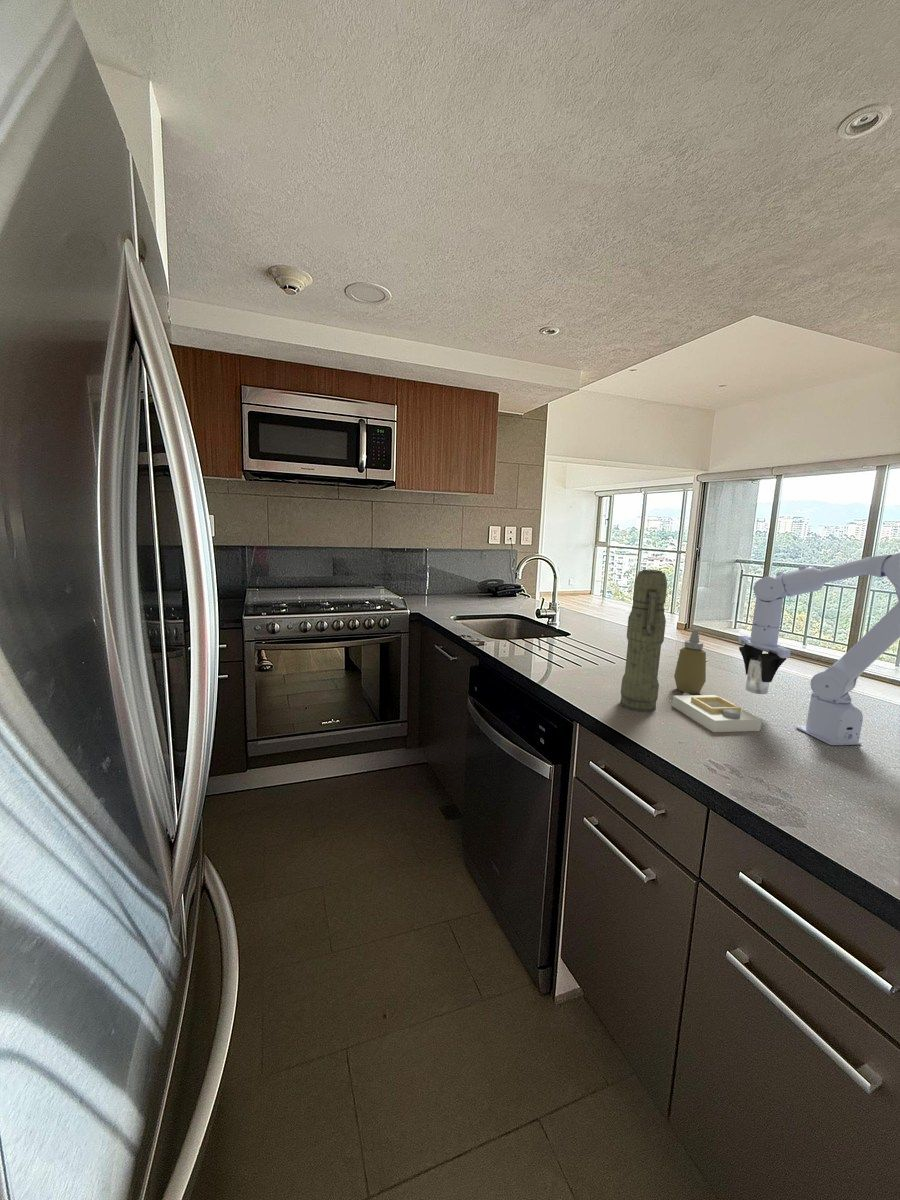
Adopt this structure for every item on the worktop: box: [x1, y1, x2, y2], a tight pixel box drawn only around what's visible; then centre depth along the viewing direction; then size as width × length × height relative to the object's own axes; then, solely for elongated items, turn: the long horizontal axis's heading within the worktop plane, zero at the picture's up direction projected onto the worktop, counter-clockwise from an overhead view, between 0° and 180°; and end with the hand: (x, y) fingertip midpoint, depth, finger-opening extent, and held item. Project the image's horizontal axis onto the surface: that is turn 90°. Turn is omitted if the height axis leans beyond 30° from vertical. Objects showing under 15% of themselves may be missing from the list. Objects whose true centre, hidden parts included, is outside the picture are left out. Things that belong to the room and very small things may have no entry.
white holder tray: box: [671, 692, 763, 733], centre depth 122 cm, size 20×12×4 cm, turn 8°
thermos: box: [620, 569, 668, 713], centre depth 125 cm, size 9×12×35 cm
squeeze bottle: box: [673, 628, 707, 695], centre depth 139 cm, size 8×8×18 cm
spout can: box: [745, 656, 770, 695], centre depth 123 cm, size 5×5×9 cm
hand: (758, 678), depth 123 cm, fingers closed on spout can, 5 cm apart
